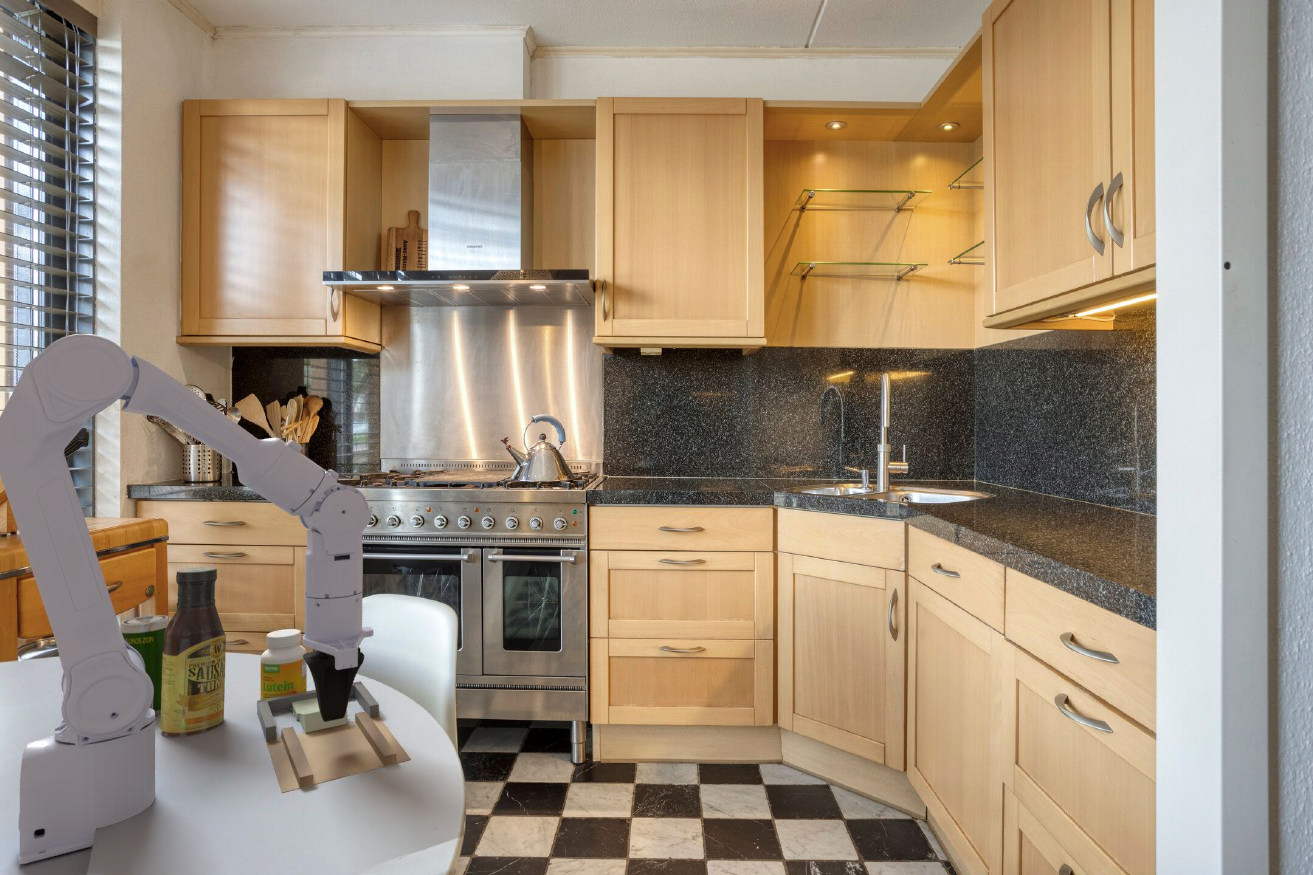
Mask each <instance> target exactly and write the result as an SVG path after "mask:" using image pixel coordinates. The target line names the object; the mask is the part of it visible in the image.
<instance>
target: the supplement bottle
mask: <svg viewBox="0 0 1313 875" xmlns="http://www.w3.org/2000/svg"><path fill="white" fill-rule="evenodd" d="M301 632H302V631H301V630H300V629H296V628H295V629H294V628H286V629H279V630H275V631H274V630H273V631H271V632H269V633H267V635H266V646H267V647H268V649H266V650H265V651H264V652H263V653H262V654H261V655H260V699H259V700H264V699H269V698H274V697H279V696H285V695H290V694H295V693H301V692H306V691H308V690H307V688H308V687H307V686H308V685H307V682H308V681H307V678H308V676H307V675H308V674H307V669H308V668H307V667H308V665H307V663H306V661H305V660H304V658H303V655H304V654H306V653H307V650H306V648H305V646H303V645H299V644H300V643H302V642H301V640H302V633H301Z"/></svg>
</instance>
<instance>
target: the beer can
mask: <svg viewBox="0 0 1313 875" xmlns="http://www.w3.org/2000/svg"><path fill="white" fill-rule="evenodd" d="M169 621H170V620H169V616H168V615H162V614H160V615H159V614H154V615H144V616H137V617H132V618H128V619H125V620H123V621H121V626H120V629H121V633H122V636H123V638H124V640H125V641H126V642H127V643H128V644H129V645H130V646H131V647H133V648H134V649H135V650H137V651H138V652H139V654H140V655H141V656H142V658H143V660H144V664H145V671H146V673H147V674H148V675H149V677H150V679H151V681H152V684H153V687H154V696H153V701H152V704H151V706H150V708H151V709H153V710H154V711H155V717H157V716H159V715H160V716H161V696H162V663H163V651H164V634H165V630H166V627H167V625H168V624H169Z"/></svg>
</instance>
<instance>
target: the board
mask: <svg viewBox="0 0 1313 875" xmlns="http://www.w3.org/2000/svg"><path fill="white" fill-rule="evenodd" d="M280 733H281V736H280V737H279V738H276V739H274V740H269V741H266V740H265V743H266V747H267V750H268V753H269V755H270V759H271V762H272V765H273V769H274V771H275V774H276V777H277V781H278V784H279V787H280V791H281V793H282V794H284V793H288V792H292V791H296V790H299V789H300V790H301V789H304V788H307V787H311V786H315V785H319V784H323V783H327V782H331V781H335V780H338V779H342V778H345V777H351V776H353V775H357V774H361V773H365V772H366V773H367V772H370V771H373V770H378V769H381V768H384V767H389V766H392V765H396V764H401V763H404V762H408V761H412V758H411V757H410V756H409V754H408V753H407V752H406V751H405V749H404V748H403V747H402V745H401V744H400V742H399V741H398V740H397V739H396V737H395V736H394V735H393V733H392V732H391V731H390V730H389V728H388V726H386V724H385V723H384V721H383V720H382V719H381V717H380V716H379V717H375V718H370V716H369V715H368V714H367V712H366V711H364V710H363V711H360V712H355V713H354V721H353V722H348V724H344V725H339V726H335V727H330V728H326V729H321V730H316V731H312V732H307V733H305V732H302V733H297V732H296V730H295V728H294V726H288V727H285V728H281V729H280Z"/></svg>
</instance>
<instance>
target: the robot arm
mask: <svg viewBox="0 0 1313 875" xmlns="http://www.w3.org/2000/svg"><path fill="white" fill-rule="evenodd" d="M16 383H17V384H16V385H15V387H14V389H13V391H12V393H11V395H10V397H9V399H8V401H7V402H6V404H5V406H4V408H3V410H2V412H1V414H0V479H1V482H2V484H3V488H4V492H5V494H6V497H7V500H8V503H9V506H10V509H11V512H12V514H13V518H14V521H15V524H16V526H17V530H18V533H19V535H20V539H21V541H22V544H23V547H24V551H25V553H26V554H25V555H26V556H27V559H28V562H29V565H30V568H31V571H32V575H33V577H34V579H35V583H36V586H37V590H38V592H39V595H40V598H41V602H42V604H43V606H44V610H45V613H46V615H47V618H48V619H47V620H48V622H49V624H50V628H51V631H52V633H53V637H54V640H55V644H56V648H57V651H58V657H59V660H60V664H61V669H62V671H63V672H62V675H61V683H60V685H61V691H62V694H63V696H62V703H61V710H60V711H61V716H62V721H61V723H60V724H58V725H56V727H55V728H54V734H52V735H49V736H46V737H43V738H39V739H33V740H30V741H28V742H26V743H25V746H24V749H23V753H22V757H21V764H20V765H21V766H20V777H19V813H18V831H19V857H18V859H17V860H18V861H17V862H18V864H19V865H25V864H29V863H32V862H36V861H40V860H44V859H48V858H52V857H55V856H60V855H63V854H67V853H71V852H75V851H79V850H83V849H86V848H90V847H93V844H94V840H95V834H96V832H97V831H96V830H97V829H100V828H104V827H109V826H112V825H116V824H117V823H121V822H123V821H127V820H128V819H131V818H133V817H135V816H137V815H139V814H141V813H142V812H144V811H145V810H147V809H148V808H149V807H150V806H151V805H152V804H154V802H155V800H156V716H155V711H154V710H153V709H151V708H150V706H151V704H152V701H153V696H154V687H153V684H152V681H151V679H150V677H149V675H148V674H147V673H146V671H145V664H144V660H143V658H142V656H141V655H140V654H139V652H138V651H137V650H135V649H134V648H133V647H131V646H130V645H129V644H128V643H127V642H126V641H125V640H124V638H123V636H122V633H121V626H120V624H119V620H118V618H117V614H116V611H115V608H114V605H113V603H112V598H111V596H110V593H109V590H108V586H107V584H106V581H105V577H104V574H103V571H102V568H101V565H100V560H99V558H98V555H97V552H96V548H95V546H94V543H93V540H92V536H91V533H90V529H89V527H88V524H87V521H86V518H85V514H84V511H83V509H82V506H81V503H80V498H79V496H78V493H77V491H76V487H75V483H74V481H73V478H72V475H71V472H70V469H69V465H68V462H67V459H66V455H65V449H66V448H67V447H68V445H69V444H70V443H71V441H73V439H74V438H75V437H76V436H77V435H78V433H79V432H80V431H81V430H82V429H83V428H84V426H85V425H86V424H87V421H88V420H90V419H91V418H92V417H93V416H96V415H97V414H99V413H101V412H102V411H104V410H106V409H107V408H109V407H110V406H111V405H113V404H115V402H118V400H122V401H124V403H123V405H122V408H121V412H125V413H130V414H136V415H137V414H138V415H146V416H154V417H157V418H161V419H163V420H164V421H166V422H167V423H169V424H171V425H172V426H174V427H176V428H177V429H179V430H181V431H182V432H184V433H186V434H187V435H188V436H190V437H192V438H194V439H195V440H197V441H199V442H200V443H202V444H203V445H205V446H207V447H208V448H210V449H211V450H213V451H215V452H217V454H218V453H219V454H220V455H221V456H223V457H225V458H226V459H228V460H230V461H232V463H234V464H235V466H236V469H237V470H236V471H237V476H238V481H239V483H240V484H242V485H243V486H244V487H247V488H248V489H250V490H251V491H252V492H255V493H256V494H258V495H259V496H261V497H262V498H264V499H266V500H267V501H268V502H270V503H272V504H274V505H275V506H276V507H278V508H279V509H280V510H283V511H284V512H286V513H287V514H289V515H290V516H291V517H296V516H297V517H298V519H299V521H300V523H301V524H302V526H303V527H304V528H305V529H307V530H306V551H305V571H304V572H305V573H304V574H305V577H304V578H305V580H304V585H305V586H304V589H305V590H304V591H305V592H304V634H303V635H302V646H303V647H304V648H305V647H306V648H308V649H311V650H314V651H310V652H306V654H304V655H303V658H304V660H305V661H306V663H307V667H308V670H309V671H310V674H311V677H312V679H313V685H314V688H315V689H314V690H316V694H317V700H318V705H319V710H320V714H321V717H322V719H323V721H324V722H327V721H332V720H337V719H342V718H344V716H345V713H346V710H347V711H348V705H349V701H350V698H349V697H350V692H351V688H352V685H353V683H354V681H355V680H356V679H355V678H356V677H357V675H358V671H359V670H360V669H361V667H362V666H363V665H362V664H364V661H365V654H364V653H363V652H362V651H361V648H360V645H361V643H362V641H363V640H364V639H365V638H371V637H374V631H375V630H374V629H373V627H371V626H365V627H363V588H364V585H363V583H364V582H363V572H364V571H363V570H364V569H363V568H364V566H363V565H364V564H363V562H364V556H363V555H364V550H363V532H364V530H366V528H367V527H368V525H369V523H370V521H371V518H372V514H373V510H372V509H371V508H370V507H369V502H368V501H367V498H366V496H365V495H364V494H363V493H362V491H360V489H358V488H356V487H354V486H352V485H346V484H341V483H339V482H338V481H337V480H338V478H339V476H340V475H339V473H338V472H336V471H335V470H333V469H328V470H326V469H324V468H323V467H321V466H320V465H318V464H317V463H316V462H314V461H313V460H312V459H310V458H309V457H307V456H306V455H304V454H303V453H301V452H300V451H301V450H302V449H303V446H302V445H300V444H299V443H298V442H296V441H295V440H288V441H287V442H286V441H285V440H283V439H281V438H279V437H271V438H270V437H269V438H264V439H258V438H257V437H255V436H254V435H253V434H252V433H250V432H248V431H247V430H246V429H245V428H243V427H242V426H241V425H239V424H238V423H236V422H235V421H234V420H233V419H231V418H229V416H227V415H225V413H223V412H221V411H220V410H219V409H217V408H216V407H215V406H213V405H212V404H211V403H209V402H208V401H206V400H205V399H204V398H202V397H201V396H200V395H198V394H197V393H195V391H193V390H192V389H190V388H189V387H187V386H186V385H185V384H184V383H182V382H181V381H179V380H178V379H176V378H175V377H174V376H171V375H170V374H168V373H167V372H165V371H164V370H162V369H160V368H159V367H157V366H156V365H154V364H152V362H150V361H147V360H146V359H144V358H142V357H140V356H138V355H136V354H133V355H132V356H131V357H129V355H128V353H127V352H126V351H125V350H124V349H123V348H122V347H121V346H120V345H118V344H117V343H116V342H114V341H112V340H111V339H108V338H106V337H103V336H100V335H96V334H92V333H91V334H89V333H77V334H70V335H69V334H68V335H66V336H63V337H61V338H59V339H57V340H55V341H53V342H51V344H49V345H48V346H47V347H45V349H44V350H42V351H41V352H40V353H39V354H38V355H37V356H35V357H34V358H33V359H32V360H30V361H29V362H28V363H27V364H26V365H25V366H24V368H23V370H22V372H21V375H20V376H19V379H18V381H17V382H16Z"/></svg>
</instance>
